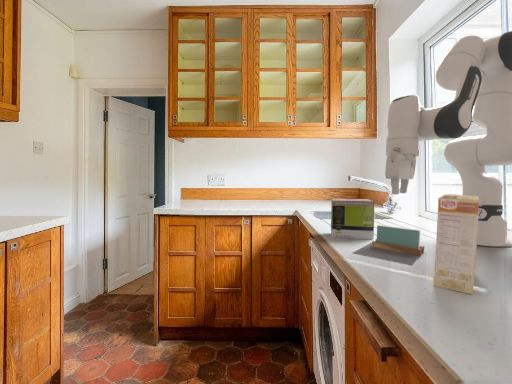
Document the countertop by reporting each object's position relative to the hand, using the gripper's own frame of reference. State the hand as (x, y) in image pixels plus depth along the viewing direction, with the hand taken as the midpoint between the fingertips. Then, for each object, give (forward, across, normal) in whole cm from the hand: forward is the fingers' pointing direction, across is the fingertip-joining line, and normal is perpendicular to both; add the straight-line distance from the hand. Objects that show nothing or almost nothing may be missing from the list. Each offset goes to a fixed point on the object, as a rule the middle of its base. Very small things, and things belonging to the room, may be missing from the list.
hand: (399, 193), depth 86 cm
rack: (+18, 0, 0) cm, 18 cm away
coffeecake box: (+19, -17, -16) cm, 30 cm away
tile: (+18, 0, 0) cm, 18 cm away
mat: (+18, -5, +1) cm, 19 cm away
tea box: (+19, +10, +19) cm, 28 cm away
